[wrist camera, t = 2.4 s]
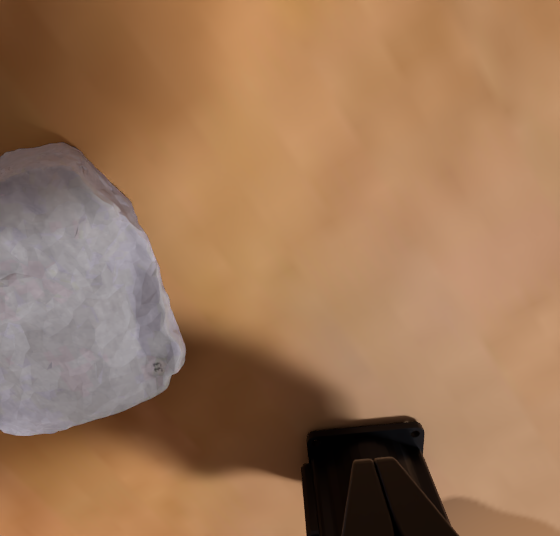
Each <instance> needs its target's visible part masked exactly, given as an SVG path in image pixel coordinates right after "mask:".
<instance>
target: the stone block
mask: <svg viewBox="0 0 560 536" xmlns="http://www.w3.org/2000/svg"><path fill="white" fill-rule="evenodd" d="M185 354H186V348H185V343H184V341H183V338H182V336H181V333H180V331H179V326H178V324H177V322H176V320H175V317H174V314H173V312H172V310H171V308H170V300H169V297H168V294H167V293H166V291H165V288H164V286H163V283H162V279H161V275H160V267H159V265H158V263H157V260H156V258H155V256H154V253H153V250H152V247H151V244H150V241H149V239H148V236H147V235H146V233H145V232H144V231H143V229H142V228H141V226H140V225H139V224H138V221H137V216H136V214H135V212H134V209H133V207H132V203H131V201H130V200H129V199H128V198H127V197H125V196H124V195H123V194H122V193H121V192H120V191H119V190H118V189H117V188H116V187H115V186H113V185H112V184H111V182H110V181H109V180H108V179H107V178H106V177H105V176H104V175H103V174H102V173H101V172H100V171H99V170H98V169H96V168H95V167H94V165H93V164H92V163H91V162H89V160H88V159H87V158H86V157H85V156H84V155H83V153H82V152H81V151H80V150H78V149H77V148H75V147H71V146H70V145H68V144H66V143H63V142H61V143H50V144H47V145H44V146H41V147H35V148H27V149H17V150H15V151H10V152H6V153H4V154H3V155H2V156H1V157H0V430H1V431H3V432H4V433H8V434H12V435H19V436H31V435H37V434H52V433H56V432H57V431H62V430H66V429H68V428H70V427H72V426H76V425H80V424H83V423H86V422H90V421H93V420H96V419H100V418H104V417H107V416H109V415H114V414H117V413H119V412H122V411H125V410H127V409H129V408H131V407H133V406H135V405H138V404H140V403H142V402H144V401H147V400H149V399H151V398H153V397H155V396H156V395H158V394H160V393H162V392H163V391H164V390H165V389H167V388H168V386H169V384H170V380H171V376H172V375H173V374H176V373H178V371H179V370H180V369H181V367H182V366H183V365H184V362H185Z"/></svg>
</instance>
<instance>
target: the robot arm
mask: <svg viewBox="0 0 560 536" xmlns="http://www.w3.org/2000/svg"><path fill="white" fill-rule="evenodd" d="M314 440H316V441H314ZM423 444H424V430H423V428H422V425H421V424H420V423H418V422H406V423H395V424H384V425H374V426H363V427H352V428H342V429H331V430H320V431H313V432H310V433H309V434H308V435H307V448H308V458H309V463H305V464H304V465H303V466H302V467H301V472H302V485H303V497H304V509H305V521H306V533H307V536H459V535H458V534H457V533H456V531H455V530H454V529H453V528H452V527H451V524H450V522H449V519H448V517H447V514H446V512H445V509H444V507H443V504H442V502H441V499H440V497H439V494H438V492H437V489H436V487H435V484H434V482H433V479H432V477H431V474H430V472H429V469H428V467H427V464H426V462H425V459H424V457H423Z"/></svg>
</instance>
